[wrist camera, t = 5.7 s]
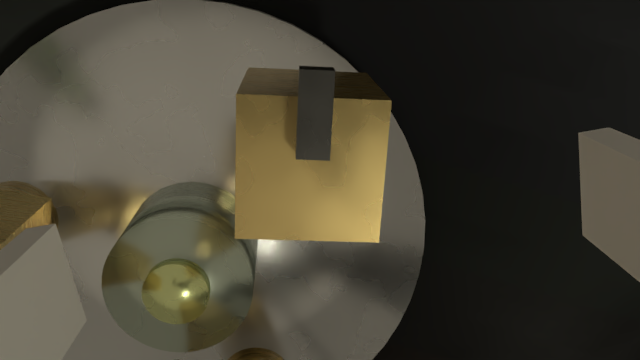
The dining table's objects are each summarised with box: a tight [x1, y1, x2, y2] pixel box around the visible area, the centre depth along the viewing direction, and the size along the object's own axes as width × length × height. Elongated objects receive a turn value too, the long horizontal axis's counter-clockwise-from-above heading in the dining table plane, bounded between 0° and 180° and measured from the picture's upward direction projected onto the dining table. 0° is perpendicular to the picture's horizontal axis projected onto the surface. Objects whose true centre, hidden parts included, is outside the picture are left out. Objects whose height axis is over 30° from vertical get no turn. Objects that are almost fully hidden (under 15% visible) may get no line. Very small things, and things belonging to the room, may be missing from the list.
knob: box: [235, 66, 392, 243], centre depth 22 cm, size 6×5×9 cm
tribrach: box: [0, 0, 425, 360], centre depth 26 cm, size 22×22×6 cm
